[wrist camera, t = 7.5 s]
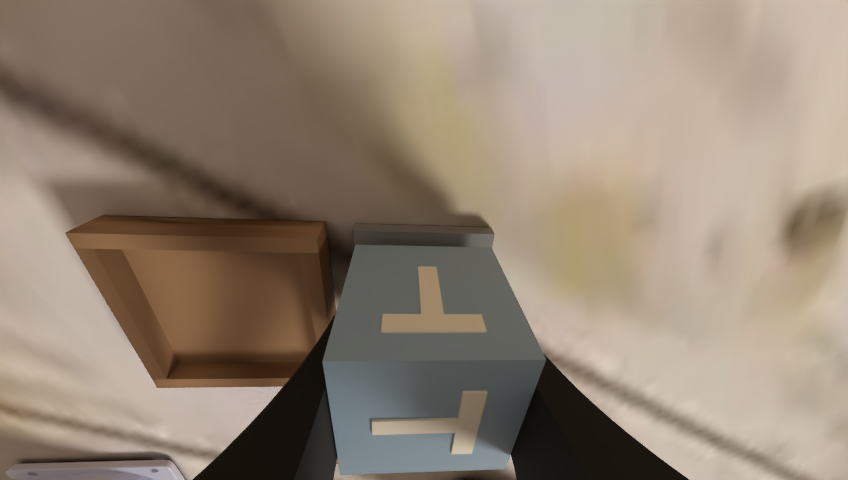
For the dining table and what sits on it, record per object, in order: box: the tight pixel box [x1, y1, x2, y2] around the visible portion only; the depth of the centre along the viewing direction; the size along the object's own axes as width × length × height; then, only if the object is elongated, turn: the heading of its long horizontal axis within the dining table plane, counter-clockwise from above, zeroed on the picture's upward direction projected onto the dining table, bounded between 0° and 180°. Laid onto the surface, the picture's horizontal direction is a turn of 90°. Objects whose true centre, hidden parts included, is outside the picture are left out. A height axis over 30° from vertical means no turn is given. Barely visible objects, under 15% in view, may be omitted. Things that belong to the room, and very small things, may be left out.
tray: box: [66, 215, 336, 388], centre depth 13 cm, size 8×8×1 cm
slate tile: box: [353, 224, 494, 248], centre depth 13 cm, size 6×6×1 cm
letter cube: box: [322, 245, 546, 475], centre depth 10 cm, size 5×5×5 cm
